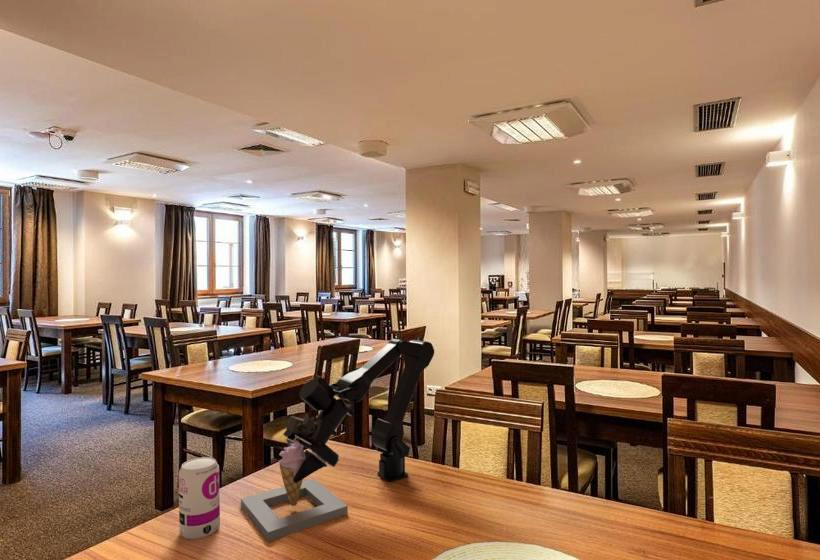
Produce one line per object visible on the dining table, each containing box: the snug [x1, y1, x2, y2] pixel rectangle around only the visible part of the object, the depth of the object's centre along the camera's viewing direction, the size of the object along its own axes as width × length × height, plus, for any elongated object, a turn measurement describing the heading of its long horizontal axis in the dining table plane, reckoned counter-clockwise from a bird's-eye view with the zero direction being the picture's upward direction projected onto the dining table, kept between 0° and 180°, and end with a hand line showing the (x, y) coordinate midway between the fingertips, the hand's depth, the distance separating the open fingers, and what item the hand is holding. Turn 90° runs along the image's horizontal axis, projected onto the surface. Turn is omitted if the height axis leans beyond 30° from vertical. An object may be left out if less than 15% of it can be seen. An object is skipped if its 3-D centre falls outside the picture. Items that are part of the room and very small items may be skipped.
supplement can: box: [178, 456, 221, 540], centre depth 106 cm, size 8×8×15 cm
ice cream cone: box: [278, 441, 305, 507], centre depth 115 cm, size 7×6×15 cm
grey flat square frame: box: [240, 478, 349, 542], centre depth 115 cm, size 19×19×2 cm
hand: (288, 477), depth 114 cm, fingers closed on ice cream cone, 6 cm apart
